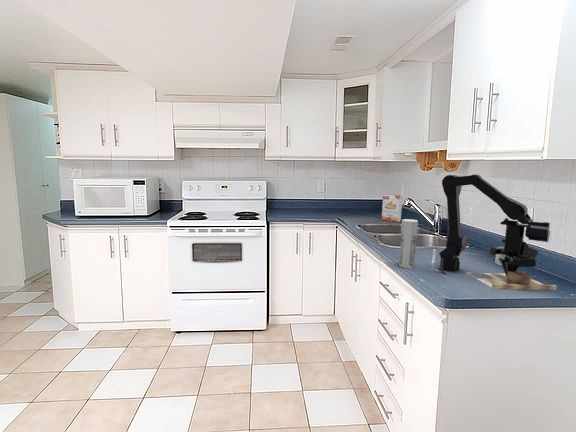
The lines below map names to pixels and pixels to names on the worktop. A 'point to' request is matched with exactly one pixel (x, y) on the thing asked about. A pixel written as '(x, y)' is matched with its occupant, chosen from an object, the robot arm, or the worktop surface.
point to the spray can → (408, 243)
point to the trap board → (501, 283)
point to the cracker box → (392, 207)
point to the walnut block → (518, 277)
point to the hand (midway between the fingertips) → (509, 279)
